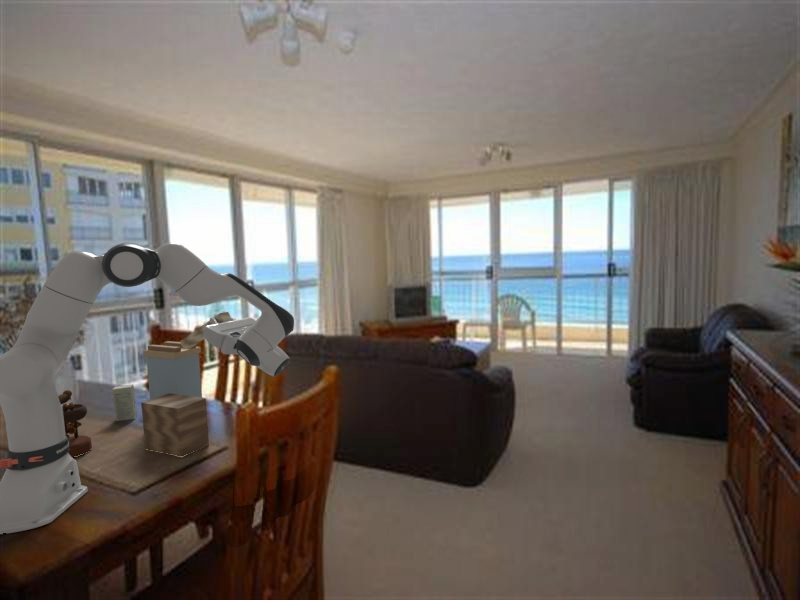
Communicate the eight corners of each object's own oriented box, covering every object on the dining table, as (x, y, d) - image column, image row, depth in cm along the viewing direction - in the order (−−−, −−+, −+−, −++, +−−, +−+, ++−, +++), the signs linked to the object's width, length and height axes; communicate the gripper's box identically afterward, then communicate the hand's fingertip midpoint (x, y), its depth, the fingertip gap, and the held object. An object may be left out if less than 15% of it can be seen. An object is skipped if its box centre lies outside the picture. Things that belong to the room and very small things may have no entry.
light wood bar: (232, 319, 151) (228, 311, 152) (223, 321, 148) (220, 313, 148) (191, 347, 161) (188, 339, 161) (183, 349, 157) (179, 341, 158)
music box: (83, 459, 137) (69, 394, 134) (41, 467, 134) (26, 401, 132) (103, 439, 152) (91, 380, 149) (65, 446, 149) (52, 387, 147)
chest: (206, 420, 167) (200, 342, 164) (179, 431, 157) (173, 348, 154) (176, 415, 173) (170, 340, 170) (150, 425, 163) (143, 346, 160)
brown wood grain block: (209, 445, 145) (205, 398, 143) (181, 458, 136) (177, 408, 134) (173, 437, 152) (169, 393, 150) (145, 449, 143) (141, 402, 141)
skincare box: (137, 415, 175) (134, 383, 173) (134, 419, 171) (131, 386, 169) (117, 417, 173) (115, 385, 171) (114, 421, 169) (111, 389, 167)
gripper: (272, 326, 156) (243, 305, 160) (225, 338, 137) (195, 313, 142) (265, 342, 158) (237, 321, 162) (219, 355, 139) (189, 331, 143)
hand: (217, 317), depth 152 cm, fingers closed on light wood bar, 3 cm apart
